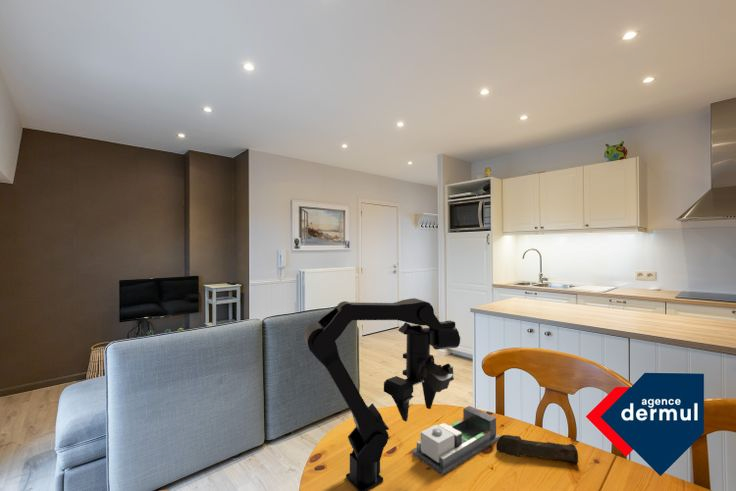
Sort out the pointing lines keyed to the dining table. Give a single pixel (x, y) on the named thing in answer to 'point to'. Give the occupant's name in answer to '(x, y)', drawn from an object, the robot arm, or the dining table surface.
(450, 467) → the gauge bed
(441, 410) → the dining table surface
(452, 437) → the knobbed white cube
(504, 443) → the hand tool
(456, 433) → the white flat block
